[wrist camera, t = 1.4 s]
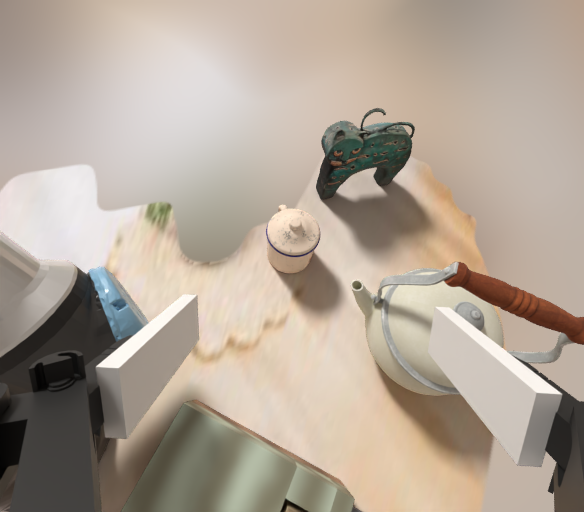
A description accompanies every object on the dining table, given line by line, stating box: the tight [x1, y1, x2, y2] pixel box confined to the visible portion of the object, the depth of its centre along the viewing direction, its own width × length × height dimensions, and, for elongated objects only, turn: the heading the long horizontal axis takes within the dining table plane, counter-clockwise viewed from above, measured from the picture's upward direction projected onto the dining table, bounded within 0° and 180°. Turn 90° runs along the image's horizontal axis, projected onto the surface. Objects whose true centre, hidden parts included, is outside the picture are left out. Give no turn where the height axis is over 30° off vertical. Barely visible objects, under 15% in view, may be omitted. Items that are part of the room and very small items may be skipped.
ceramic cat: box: [316, 108, 415, 200], centre depth 53 cm, size 20×6×20 cm, turn 108°
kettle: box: [351, 262, 584, 396], centre depth 38 cm, size 25×18×25 cm
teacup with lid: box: [266, 205, 320, 273], centre depth 49 cm, size 12×9×12 cm
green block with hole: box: [121, 400, 355, 512], centre depth 35 cm, size 24×12×7 cm, turn 65°
